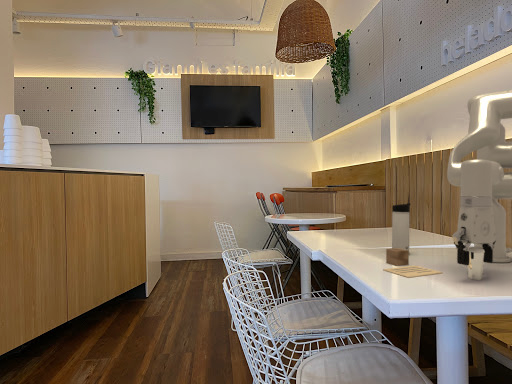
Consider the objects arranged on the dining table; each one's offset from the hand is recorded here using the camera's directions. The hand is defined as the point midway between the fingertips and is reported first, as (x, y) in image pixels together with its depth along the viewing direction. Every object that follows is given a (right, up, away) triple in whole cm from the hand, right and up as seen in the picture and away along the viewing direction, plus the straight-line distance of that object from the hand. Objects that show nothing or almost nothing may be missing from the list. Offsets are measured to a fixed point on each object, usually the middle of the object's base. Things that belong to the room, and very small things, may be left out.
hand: (475, 263), depth 96 cm
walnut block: (-14, -5, +20) cm, 24 cm away
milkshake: (0, -5, +1) cm, 5 cm away
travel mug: (-5, -4, +37) cm, 38 cm away
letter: (-14, -5, +9) cm, 17 cm away
